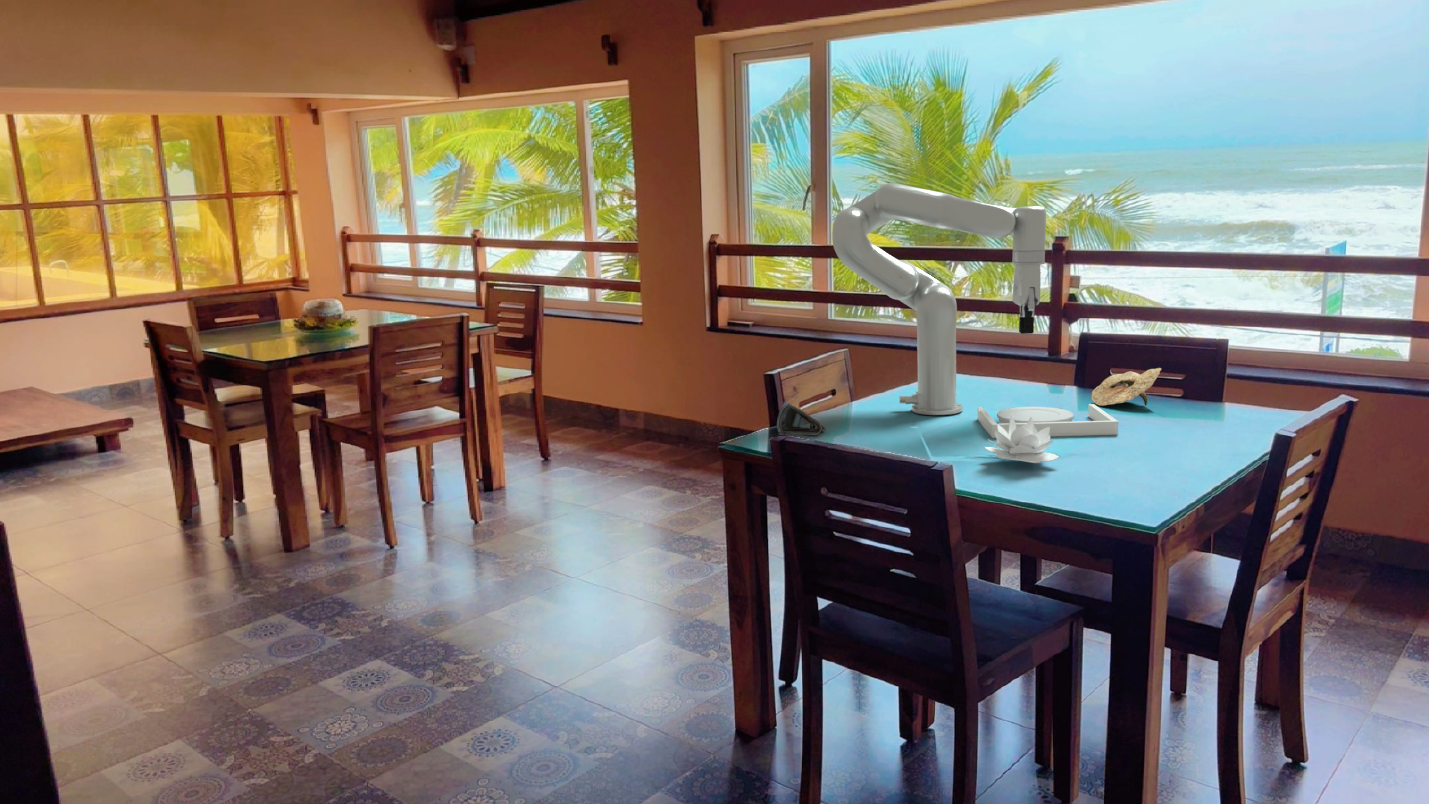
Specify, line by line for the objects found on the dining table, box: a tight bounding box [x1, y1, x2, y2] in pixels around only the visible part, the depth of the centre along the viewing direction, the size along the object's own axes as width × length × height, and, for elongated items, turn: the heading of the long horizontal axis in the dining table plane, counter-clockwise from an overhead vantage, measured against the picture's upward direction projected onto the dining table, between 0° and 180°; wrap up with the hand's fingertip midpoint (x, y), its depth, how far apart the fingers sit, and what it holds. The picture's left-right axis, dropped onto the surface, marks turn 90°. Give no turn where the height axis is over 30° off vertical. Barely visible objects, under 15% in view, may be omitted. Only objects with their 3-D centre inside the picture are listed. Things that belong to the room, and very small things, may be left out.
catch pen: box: [977, 403, 1119, 439], centre depth 246 cm, size 27×20×3 cm
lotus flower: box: [983, 417, 1060, 464], centre depth 218 cm, size 14×15×9 cm
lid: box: [996, 406, 1075, 424], centre depth 247 cm, size 17×20×3 cm
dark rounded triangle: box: [776, 401, 826, 436], centre depth 251 cm, size 10×7×12 cm
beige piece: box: [1091, 367, 1162, 406], centre depth 266 cm, size 18×14×8 cm
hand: (1026, 332), depth 261 cm, fingers closed
